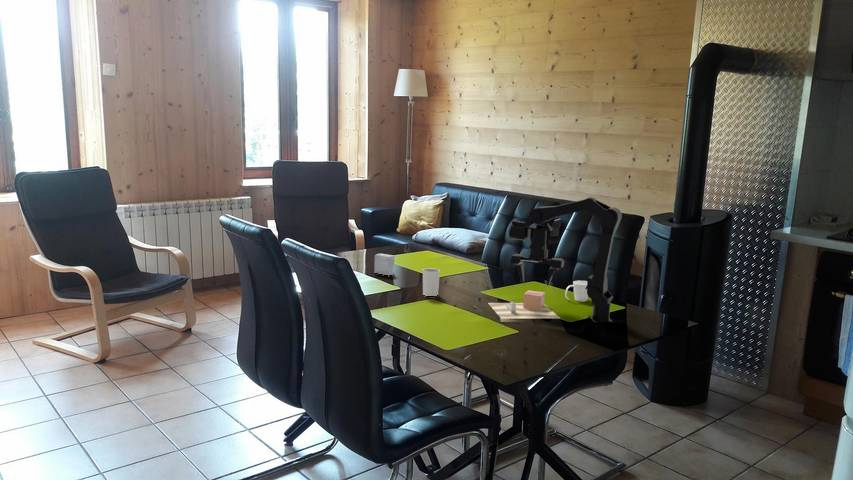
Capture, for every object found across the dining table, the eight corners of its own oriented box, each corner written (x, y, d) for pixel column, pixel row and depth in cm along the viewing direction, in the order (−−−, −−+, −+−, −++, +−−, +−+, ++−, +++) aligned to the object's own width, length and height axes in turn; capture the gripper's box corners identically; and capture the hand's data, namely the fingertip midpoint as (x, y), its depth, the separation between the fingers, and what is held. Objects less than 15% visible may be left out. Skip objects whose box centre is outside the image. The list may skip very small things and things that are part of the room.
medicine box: (394, 275, 296) (395, 255, 294) (388, 276, 292) (389, 257, 290) (380, 272, 300) (380, 253, 298) (373, 274, 296) (374, 254, 295)
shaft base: (560, 321, 234) (561, 308, 233) (501, 321, 231) (501, 308, 230) (542, 306, 253) (543, 294, 252) (487, 306, 250) (488, 294, 249)
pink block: (544, 305, 249) (545, 291, 248) (540, 309, 243) (541, 295, 242) (527, 303, 251) (528, 289, 251) (522, 307, 246) (523, 293, 245)
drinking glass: (442, 295, 263) (443, 270, 261) (430, 298, 258) (431, 272, 257) (429, 292, 268) (430, 267, 266) (418, 294, 263) (419, 269, 261)
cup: (593, 305, 257) (594, 284, 256) (568, 305, 255) (570, 285, 253) (584, 300, 264) (586, 280, 262) (560, 301, 261) (562, 280, 260)
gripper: (568, 241, 247) (565, 282, 250) (518, 236, 254) (515, 277, 257) (562, 245, 237) (559, 289, 240) (510, 240, 244) (508, 282, 246)
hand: (535, 284), depth 246 cm, fingers open, 9 cm apart
